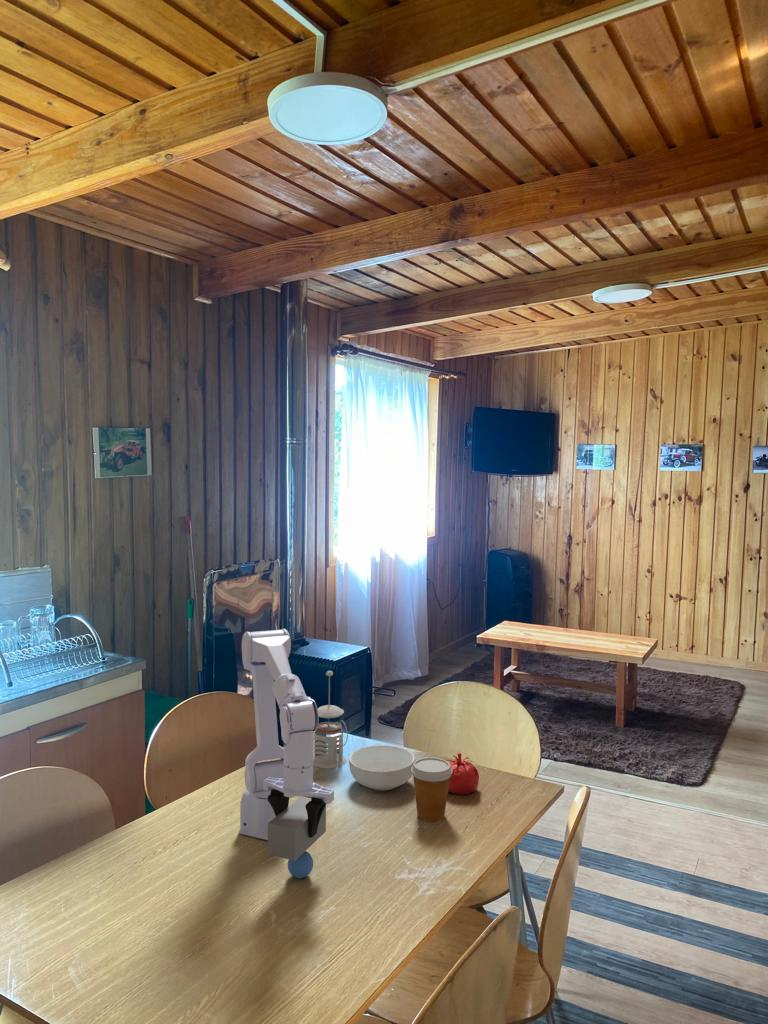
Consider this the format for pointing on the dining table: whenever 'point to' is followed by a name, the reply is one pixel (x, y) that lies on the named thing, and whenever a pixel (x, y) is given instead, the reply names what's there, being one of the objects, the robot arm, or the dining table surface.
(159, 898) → the dining table surface
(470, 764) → the pomegranate
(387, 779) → the cereal bowl
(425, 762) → the disposable coffee cup
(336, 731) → the french press
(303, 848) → the grey rectangular block
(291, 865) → the ball
